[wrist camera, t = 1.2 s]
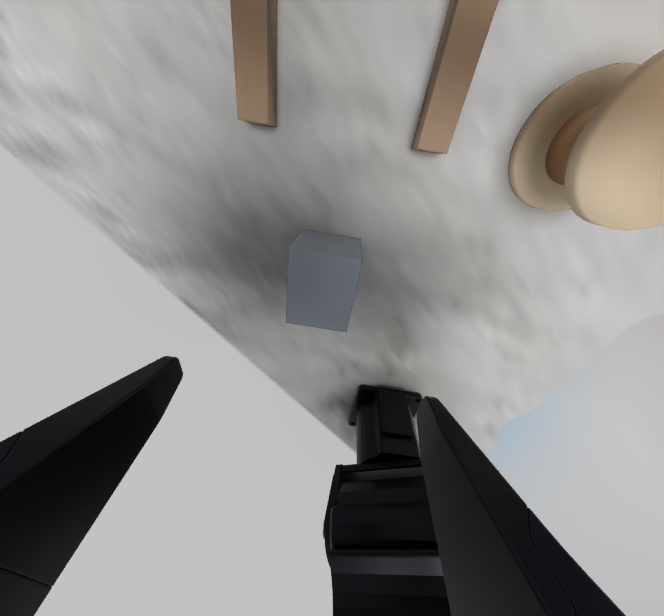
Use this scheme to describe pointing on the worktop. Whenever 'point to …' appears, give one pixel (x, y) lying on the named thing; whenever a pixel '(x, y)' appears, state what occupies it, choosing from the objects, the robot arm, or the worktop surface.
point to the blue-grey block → (322, 279)
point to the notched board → (443, 89)
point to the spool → (597, 148)
